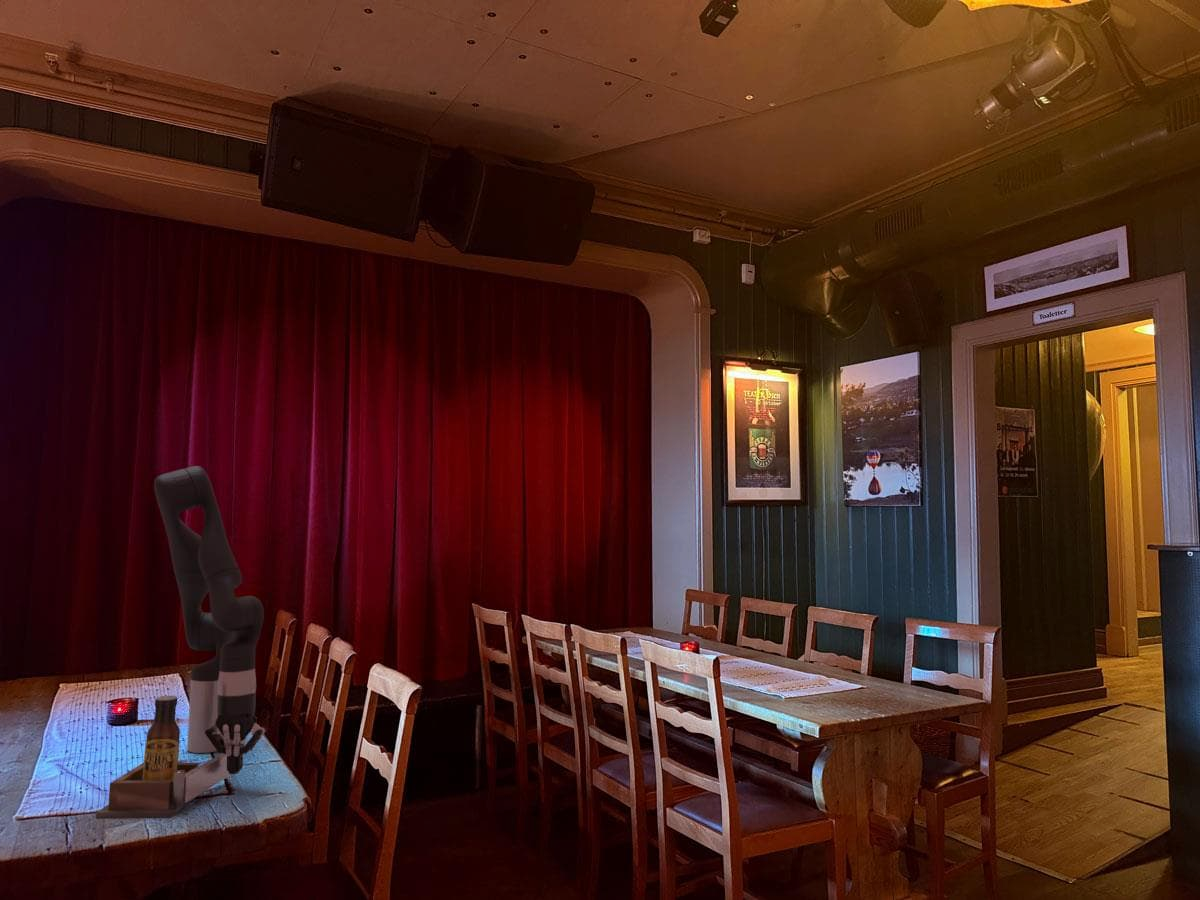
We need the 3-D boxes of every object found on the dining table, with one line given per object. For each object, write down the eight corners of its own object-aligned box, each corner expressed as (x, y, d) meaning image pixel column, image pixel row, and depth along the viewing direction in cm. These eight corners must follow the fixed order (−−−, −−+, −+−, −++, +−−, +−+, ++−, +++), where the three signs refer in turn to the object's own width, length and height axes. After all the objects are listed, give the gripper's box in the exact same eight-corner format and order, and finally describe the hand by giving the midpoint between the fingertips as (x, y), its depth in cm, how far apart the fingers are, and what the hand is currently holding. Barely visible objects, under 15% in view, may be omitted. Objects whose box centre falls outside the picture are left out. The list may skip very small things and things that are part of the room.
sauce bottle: (137, 804, 162) (143, 701, 164) (144, 793, 168) (150, 694, 170) (173, 801, 164) (178, 700, 166) (179, 791, 170) (184, 693, 171)
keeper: (179, 807, 160) (181, 773, 160) (169, 806, 160) (171, 772, 160) (230, 776, 178) (232, 745, 179) (221, 775, 179) (223, 745, 179)
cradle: (138, 789, 173) (139, 760, 174) (205, 789, 174) (207, 760, 175) (95, 817, 158) (97, 785, 158) (170, 817, 158) (172, 785, 159)
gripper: (197, 694, 173) (195, 778, 172) (258, 694, 173) (256, 779, 172) (215, 686, 181) (213, 767, 180) (274, 687, 180) (272, 767, 179)
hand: (234, 772), depth 176 cm, fingers closed
